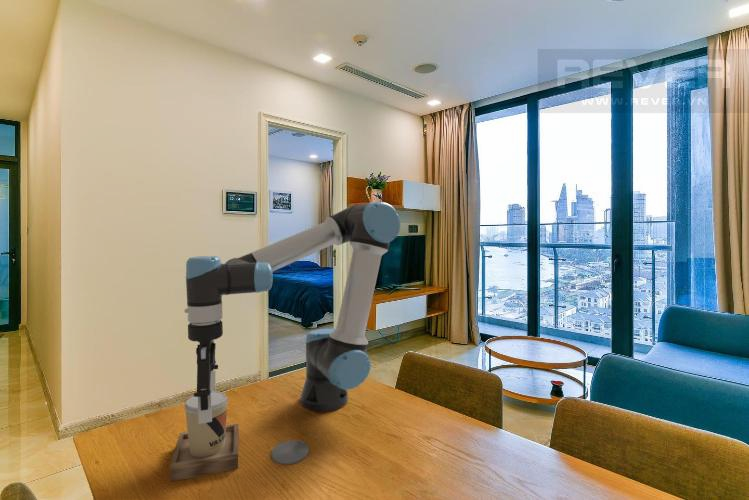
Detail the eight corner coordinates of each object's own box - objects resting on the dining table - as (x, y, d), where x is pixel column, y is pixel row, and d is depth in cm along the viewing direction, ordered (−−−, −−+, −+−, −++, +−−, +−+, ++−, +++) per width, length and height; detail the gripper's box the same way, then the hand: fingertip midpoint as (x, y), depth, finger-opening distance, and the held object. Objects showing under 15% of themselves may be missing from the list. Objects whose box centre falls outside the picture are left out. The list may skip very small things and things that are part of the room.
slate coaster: (305, 440, 97) (305, 437, 97) (311, 460, 88) (311, 457, 88) (269, 446, 94) (269, 444, 94) (272, 468, 85) (272, 465, 85)
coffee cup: (212, 462, 83) (211, 410, 83) (176, 456, 85) (175, 406, 85) (235, 439, 93) (235, 392, 92) (202, 434, 94) (202, 389, 94)
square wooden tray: (238, 436, 98) (238, 423, 98) (238, 468, 85) (237, 453, 85) (180, 446, 94) (179, 433, 93) (169, 482, 80) (169, 466, 80)
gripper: (194, 311, 98) (196, 389, 99) (179, 337, 75) (182, 438, 76) (224, 309, 101) (226, 385, 102) (219, 334, 77) (222, 432, 78)
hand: (208, 408), depth 89 cm, fingers open, 13 cm apart
